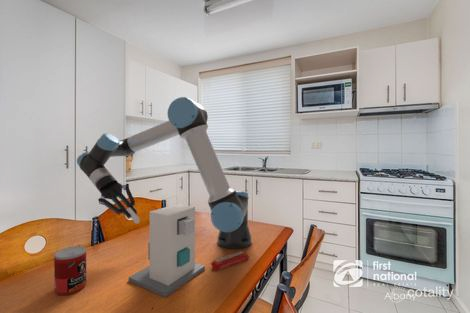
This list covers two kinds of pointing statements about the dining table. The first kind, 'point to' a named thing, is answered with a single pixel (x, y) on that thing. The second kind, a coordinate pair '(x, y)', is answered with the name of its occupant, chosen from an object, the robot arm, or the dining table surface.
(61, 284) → the canned food
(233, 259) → the candy bar
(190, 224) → the steel plunger
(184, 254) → the teal plunger
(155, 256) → the switch block
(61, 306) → the dining table surface
